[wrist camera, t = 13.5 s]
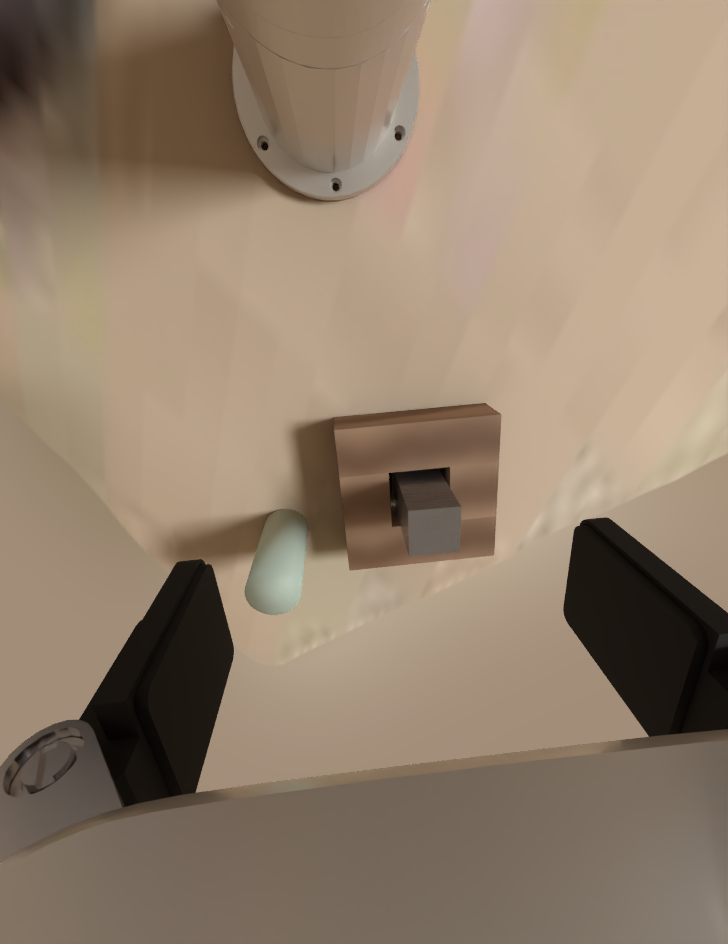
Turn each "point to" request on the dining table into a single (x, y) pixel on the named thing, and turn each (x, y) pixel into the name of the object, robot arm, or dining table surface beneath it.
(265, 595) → the round peg
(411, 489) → the square peg
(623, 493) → the dining table surface
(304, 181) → the robot arm
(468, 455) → the socket block
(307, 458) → the dining table surface
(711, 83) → the dining table surface
